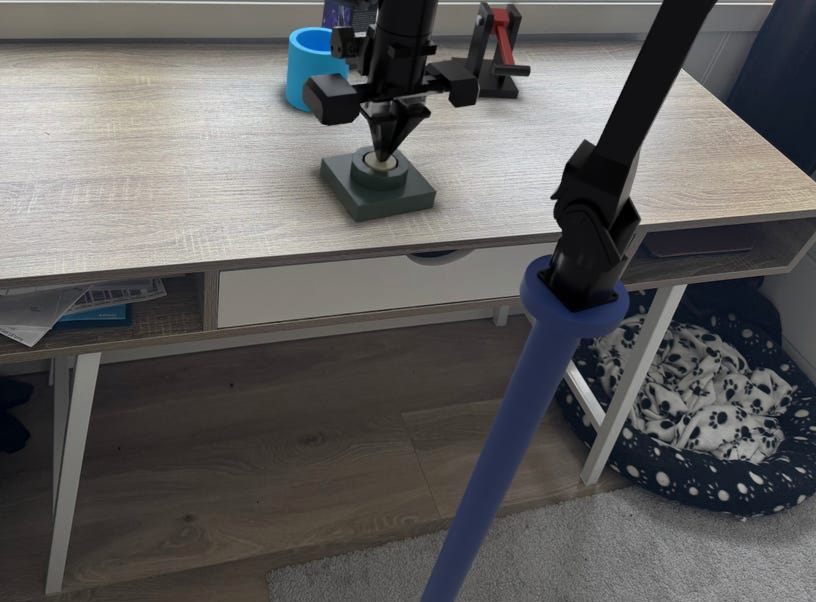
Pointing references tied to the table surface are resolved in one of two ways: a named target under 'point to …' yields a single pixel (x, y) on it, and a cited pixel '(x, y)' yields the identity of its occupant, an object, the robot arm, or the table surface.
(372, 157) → the button
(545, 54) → the table surface
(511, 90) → the bracket
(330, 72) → the mug
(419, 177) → the button block
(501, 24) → the lever
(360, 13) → the box
